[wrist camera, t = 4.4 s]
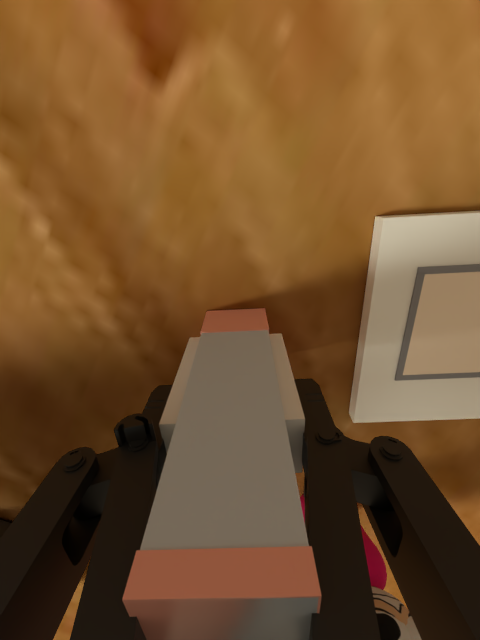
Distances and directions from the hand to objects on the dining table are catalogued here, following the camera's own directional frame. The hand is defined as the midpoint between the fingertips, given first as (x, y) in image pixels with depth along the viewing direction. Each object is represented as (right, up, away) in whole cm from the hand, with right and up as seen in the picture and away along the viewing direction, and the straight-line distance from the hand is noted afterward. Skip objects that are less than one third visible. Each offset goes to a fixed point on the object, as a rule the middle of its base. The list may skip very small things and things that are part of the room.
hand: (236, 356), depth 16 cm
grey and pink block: (0, +1, +2) cm, 3 cm away
